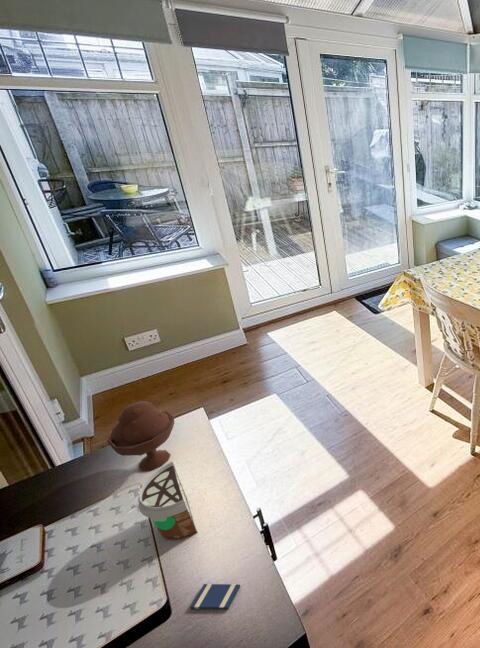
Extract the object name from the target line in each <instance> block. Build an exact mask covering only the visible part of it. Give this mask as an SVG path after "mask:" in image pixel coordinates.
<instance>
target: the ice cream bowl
mask: <svg viewBox="0 0 480 648" xmlns="http://www.w3.org/2000/svg"><path fill="white" fill-rule="evenodd" d="M174 425H175V417H174V416H173V414H171V413H170V412H169V411H167V410H161V409H158V408H156V406H155V405H154V404H153V403H152V402H151V401H144V400H141V401H136V402H133V403H131V404H129V405H127V406H126V407H125V408H124V409H123V410H122V411H121V412H120V415H119V416H118V422H117V423H116V424H115V426H114V427H113V428H112V430H111V433H110V436H108V439H107V440H106V443H107V444H108V445H109V446H110V447H111V448H112V450H114V451H115V453H116V454H117V455H120V456H125V457H126V456H129V457H130V456H142V455H145V454H146V455H145V456H144V457H143V458H141V460H140V462H139V465H138V468H139V469H140V471H141V472H151V471H154V470H156V469H160V468H161V467H163V466H164V465H166V464H167V462H168V461H169V460H170V458H171V453H170V452H169V451H168V450H167V449H159V450H157V449H158V448H159V447H160V446H162V445H163V444H164V443H166V442H167V441H168V439H169V438H170V435H171V434H172V432H173V428H174Z"/></svg>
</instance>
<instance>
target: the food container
mask: <svg viewBox="0 0 480 648" xmlns="http://www.w3.org/2000/svg"><path fill="white" fill-rule="evenodd" d="M137 500H138V510H139V512H140V513H141V515H143V516H144V517H146V518H149V519H151V521H152V523H153V524H154V526H155V527H156V529H157V531H158V532H159V533H160V535H161V536H162V538H163V539H165V540H168V541H179V540H184V539H187V538H190V537H192V536H194V535H196V534H197V533H198V530H197V527H196V523H195V520H194V516H193V513H192V510H191V506H190V503H189V500H188V496H187V495H186V492H185V490H184V486H183V484H182V482H181V480H180V477H179V475H178V472H177V469H176V466H175V464H174V462H173V461H170V462H169V463H165V464H164V465H162V466H161V467H159V468H158V469H157V470H156V471H155V472H153V473H152V474H151V475H150V476H149V477H148V478H147V479H146V481H145V482H144V483H143V485H141V488H140V491H139V493H138V499H137Z"/></svg>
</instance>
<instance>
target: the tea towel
mask: <svg viewBox="0 0 480 648" xmlns="http://www.w3.org/2000/svg"><path fill="white" fill-rule="evenodd" d="M240 588H241V585H240V584H238V583H237V584H236V583H234V584H233V583H231V584H230V583H228V584H227V583H204V584H203V585H202V587H201V588H200V590H199V592H198V594H197V595H196V597H195V599H194V600H193V601H192V603H191V605H190V609H191V610H229V609H230V607H231V605H232V604H233V601H234V600H235V598H236V595H237V594H238V592H239V590H240Z"/></svg>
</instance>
